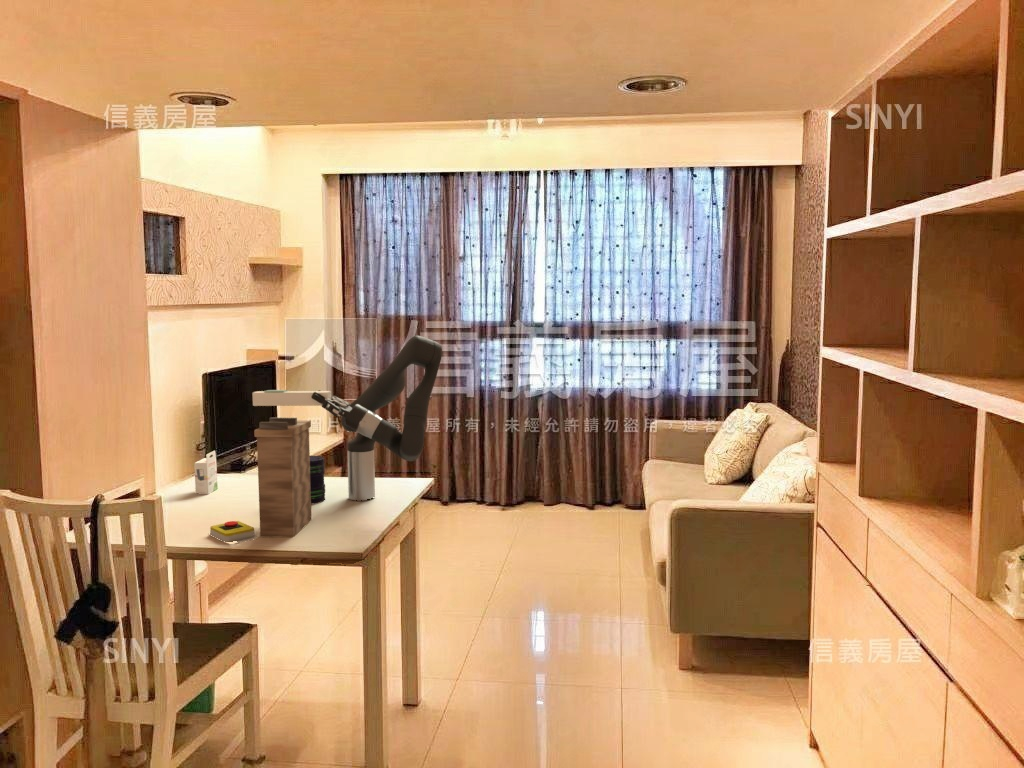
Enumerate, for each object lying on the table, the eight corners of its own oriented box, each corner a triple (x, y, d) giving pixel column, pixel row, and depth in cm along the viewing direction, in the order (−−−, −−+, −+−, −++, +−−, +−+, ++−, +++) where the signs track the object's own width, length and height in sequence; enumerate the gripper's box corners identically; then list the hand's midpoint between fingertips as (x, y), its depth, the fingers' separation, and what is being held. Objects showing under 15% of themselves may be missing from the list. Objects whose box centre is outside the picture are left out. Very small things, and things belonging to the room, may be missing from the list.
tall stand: (279, 519, 252) (276, 414, 248) (313, 519, 251) (310, 414, 248) (258, 536, 233) (254, 423, 229) (294, 537, 233) (291, 423, 229)
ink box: (204, 489, 293) (203, 449, 292) (218, 489, 293) (216, 449, 291) (194, 494, 284) (193, 454, 283) (208, 494, 284) (206, 454, 283)
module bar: (257, 404, 243) (257, 389, 243) (331, 403, 242) (331, 389, 242) (252, 405, 239) (252, 391, 239) (328, 405, 238) (327, 391, 238)
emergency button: (236, 515, 242) (259, 525, 231) (236, 529, 242) (259, 539, 232) (206, 521, 236) (228, 531, 225) (206, 535, 236) (229, 546, 225)
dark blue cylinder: (293, 504, 271) (292, 461, 270) (300, 497, 281) (298, 455, 279) (322, 503, 271) (321, 461, 270) (328, 496, 281) (327, 455, 280)
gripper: (374, 407, 247) (326, 380, 247) (364, 414, 233) (314, 385, 233) (363, 428, 248) (315, 401, 247) (352, 435, 234) (302, 407, 233)
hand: (315, 393), depth 240 cm, fingers closed on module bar, 4 cm apart
